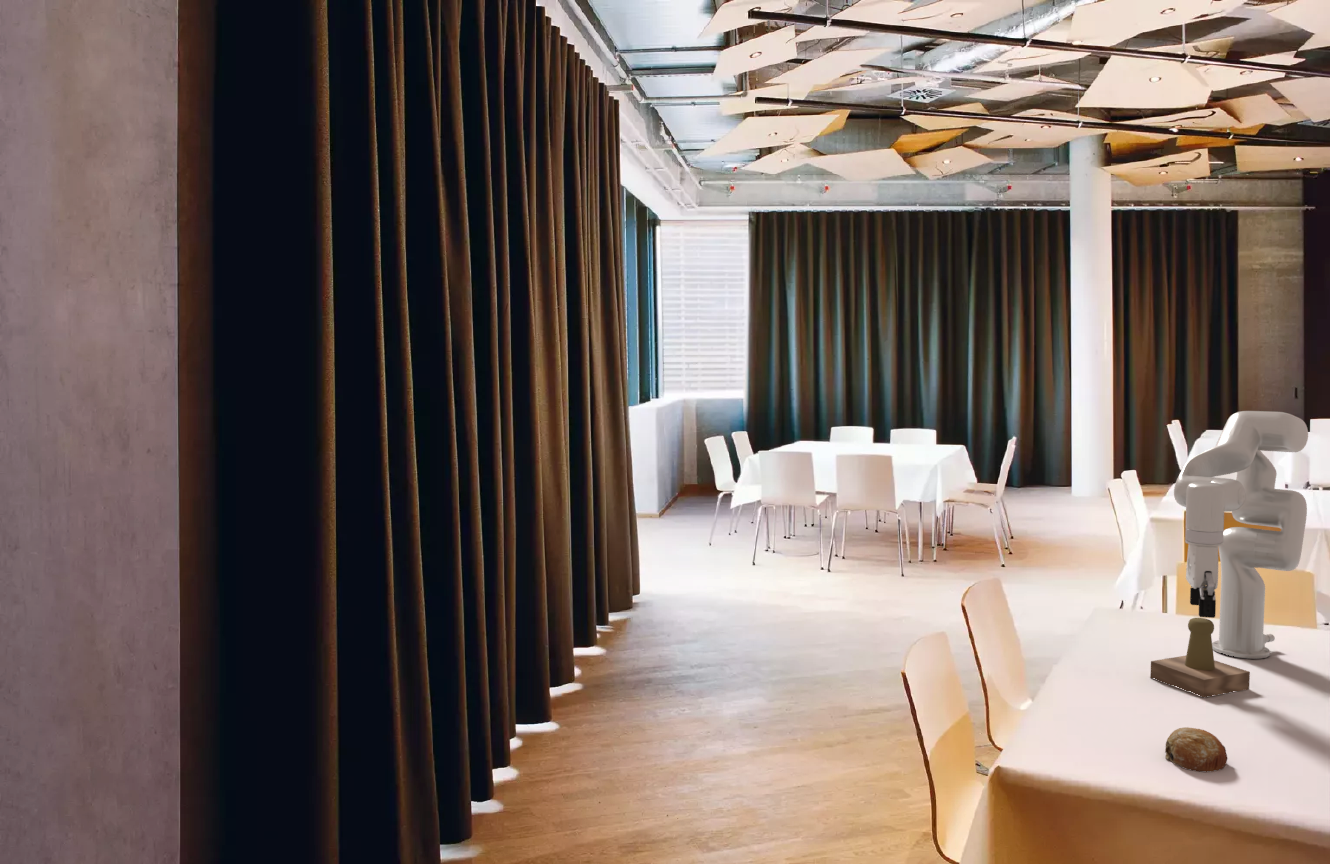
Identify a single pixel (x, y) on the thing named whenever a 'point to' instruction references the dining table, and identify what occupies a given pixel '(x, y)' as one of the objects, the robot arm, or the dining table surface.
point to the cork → (1200, 645)
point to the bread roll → (1195, 750)
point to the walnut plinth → (1200, 677)
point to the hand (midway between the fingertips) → (1202, 610)
